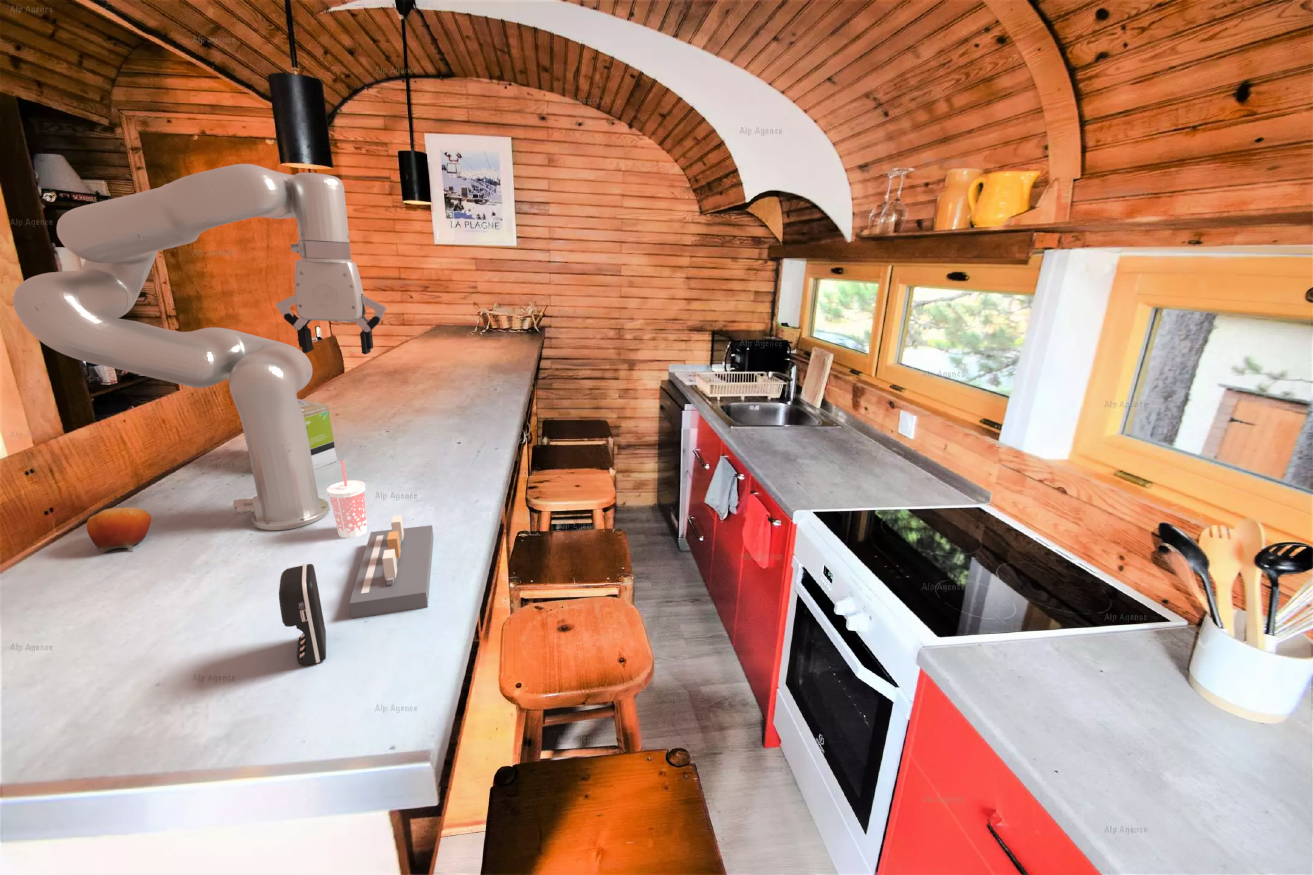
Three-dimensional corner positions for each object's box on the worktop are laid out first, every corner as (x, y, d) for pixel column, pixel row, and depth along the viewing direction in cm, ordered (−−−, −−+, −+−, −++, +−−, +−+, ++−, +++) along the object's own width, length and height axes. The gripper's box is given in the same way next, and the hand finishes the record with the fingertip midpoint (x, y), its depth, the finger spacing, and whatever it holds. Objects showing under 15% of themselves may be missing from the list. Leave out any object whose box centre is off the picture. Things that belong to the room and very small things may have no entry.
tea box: (255, 465, 135) (242, 404, 130) (295, 452, 143) (284, 394, 139) (300, 475, 129) (289, 412, 125) (339, 461, 138) (329, 402, 134)
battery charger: (293, 639, 76) (278, 564, 73) (326, 631, 78) (312, 557, 74) (291, 672, 70) (274, 592, 67) (326, 662, 72) (312, 584, 69)
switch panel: (351, 618, 81) (349, 602, 80) (372, 544, 101) (370, 531, 100) (427, 606, 84) (425, 591, 83) (433, 537, 104) (432, 524, 103)
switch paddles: (385, 585, 84) (381, 561, 83) (395, 535, 98) (393, 514, 97) (395, 583, 84) (392, 559, 83) (404, 534, 99) (402, 513, 98)
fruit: (78, 558, 91) (75, 508, 93) (100, 560, 98) (97, 514, 100) (143, 547, 95) (140, 500, 96) (160, 551, 102) (157, 506, 103)
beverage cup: (378, 525, 108) (368, 455, 103) (359, 541, 102) (347, 467, 97) (347, 523, 108) (336, 453, 104) (326, 538, 102) (313, 465, 98)
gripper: (259, 250, 93) (275, 355, 98) (375, 256, 96) (384, 357, 102) (278, 249, 100) (292, 348, 105) (385, 255, 103) (393, 350, 109)
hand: (337, 352), depth 103 cm, fingers open, 9 cm apart
